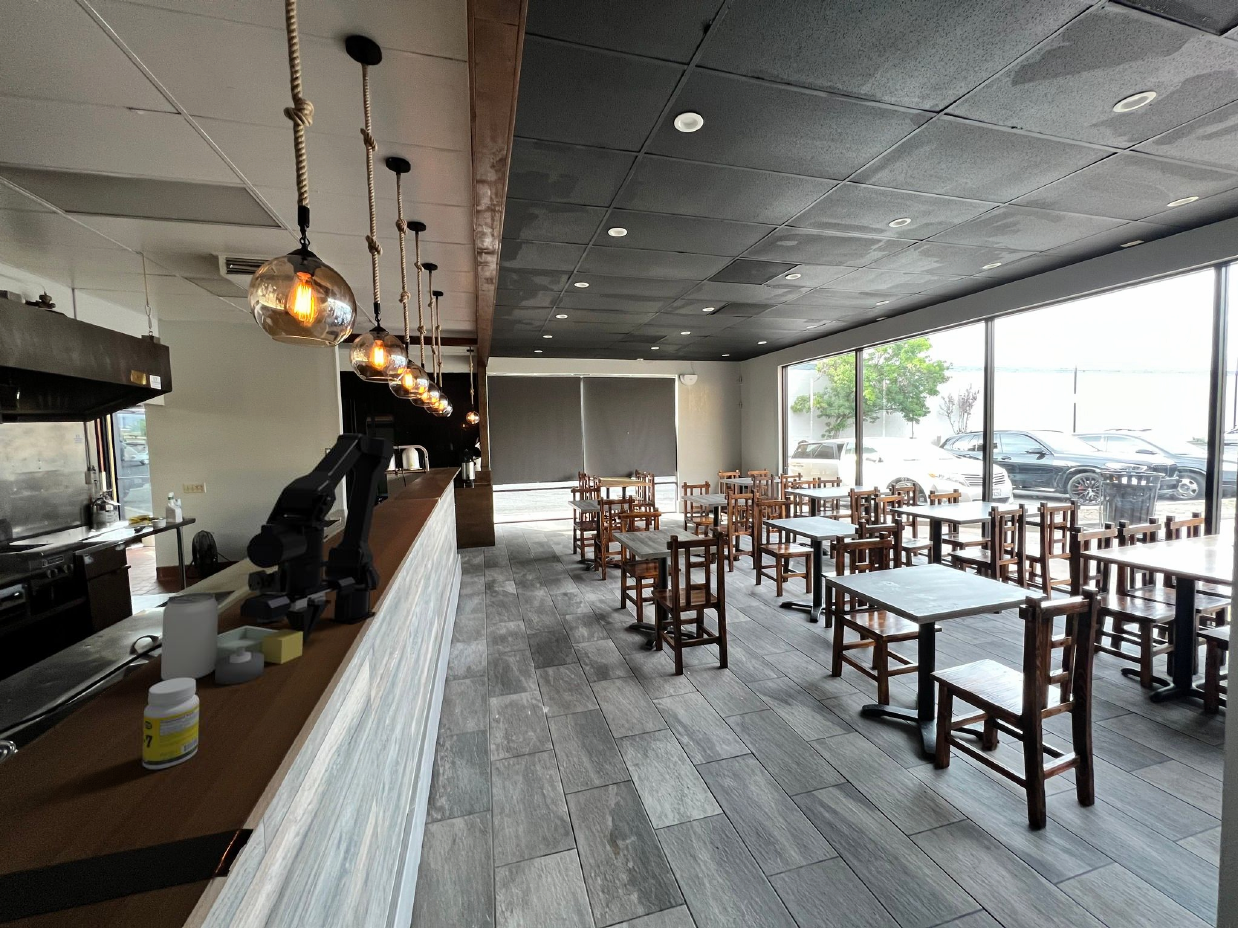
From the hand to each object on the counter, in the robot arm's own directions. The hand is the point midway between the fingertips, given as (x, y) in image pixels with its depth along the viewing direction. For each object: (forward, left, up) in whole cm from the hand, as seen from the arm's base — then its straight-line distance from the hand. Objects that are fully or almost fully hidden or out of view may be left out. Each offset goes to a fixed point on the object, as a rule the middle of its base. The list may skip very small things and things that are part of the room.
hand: (301, 643), depth 88 cm
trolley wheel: (+11, 0, -1) cm, 11 cm away
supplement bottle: (+29, +12, -1) cm, 32 cm away
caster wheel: (-12, -19, -1) cm, 22 cm away
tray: (+4, -9, -1) cm, 10 cm away
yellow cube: (+4, 0, -1) cm, 4 cm away
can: (+13, -8, -1) cm, 15 cm away
